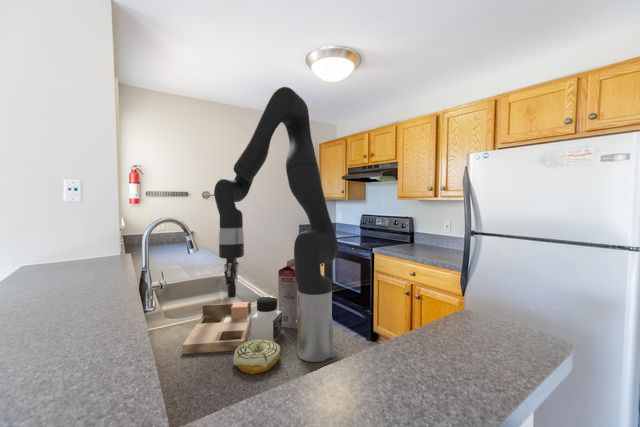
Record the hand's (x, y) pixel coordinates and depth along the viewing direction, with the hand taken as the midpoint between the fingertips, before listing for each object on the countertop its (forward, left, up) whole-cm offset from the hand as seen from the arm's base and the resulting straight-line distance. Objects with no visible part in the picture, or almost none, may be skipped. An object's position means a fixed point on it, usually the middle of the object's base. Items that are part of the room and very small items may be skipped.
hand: (232, 296), depth 89 cm
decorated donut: (-9, +20, -12) cm, 24 cm away
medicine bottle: (-11, +6, -11) cm, 17 cm away
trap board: (+3, +2, -11) cm, 12 cm away
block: (-2, -6, -9) cm, 11 cm away
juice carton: (-19, -3, -11) cm, 22 cm away
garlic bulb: (-11, -15, -11) cm, 22 cm away
